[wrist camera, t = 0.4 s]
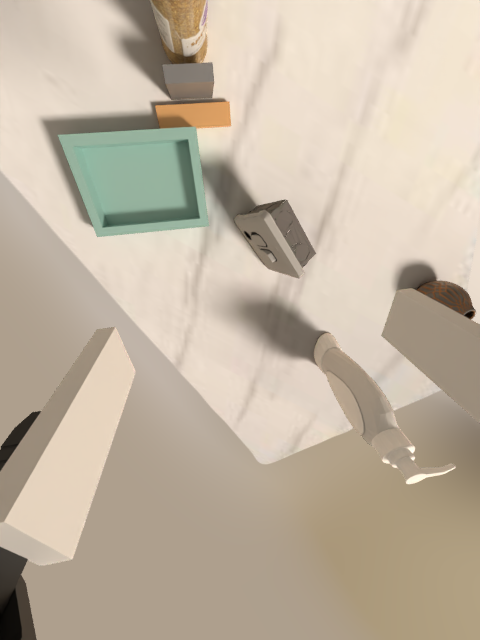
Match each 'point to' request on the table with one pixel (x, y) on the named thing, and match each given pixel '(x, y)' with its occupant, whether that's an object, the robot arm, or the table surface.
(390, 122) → the table surface
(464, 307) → the vase
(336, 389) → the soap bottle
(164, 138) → the parts tray
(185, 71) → the grey and orange blocks
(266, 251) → the electrical switch
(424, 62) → the table surface
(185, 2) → the sprinkles bottle
